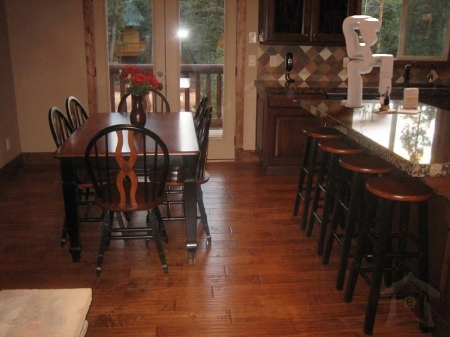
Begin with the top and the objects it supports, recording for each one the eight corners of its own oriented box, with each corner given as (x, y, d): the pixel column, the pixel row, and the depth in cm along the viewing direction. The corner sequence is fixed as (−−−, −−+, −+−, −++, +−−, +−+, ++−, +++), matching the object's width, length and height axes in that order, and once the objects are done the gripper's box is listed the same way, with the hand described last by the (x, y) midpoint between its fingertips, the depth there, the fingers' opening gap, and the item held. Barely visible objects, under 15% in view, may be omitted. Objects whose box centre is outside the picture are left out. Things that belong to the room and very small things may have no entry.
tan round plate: (367, 112, 293) (368, 104, 292) (377, 109, 304) (377, 101, 303) (391, 114, 284) (391, 106, 282) (400, 111, 294) (400, 103, 293)
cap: (378, 103, 295) (378, 95, 294) (387, 102, 295) (388, 95, 294) (381, 104, 290) (381, 97, 288) (390, 104, 289) (391, 96, 288)
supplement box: (415, 107, 305) (416, 87, 301) (417, 108, 300) (419, 88, 297) (402, 108, 306) (403, 88, 302) (404, 109, 301) (405, 88, 298)
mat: (396, 113, 287) (396, 111, 287) (403, 110, 296) (403, 108, 296) (416, 114, 280) (416, 112, 279) (423, 111, 288) (423, 110, 288)
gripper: (375, 74, 296) (374, 102, 301) (384, 76, 279) (383, 106, 284) (387, 74, 296) (385, 102, 301) (397, 76, 279) (395, 105, 284)
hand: (384, 103), depth 292 cm, fingers closed on cap, 6 cm apart
